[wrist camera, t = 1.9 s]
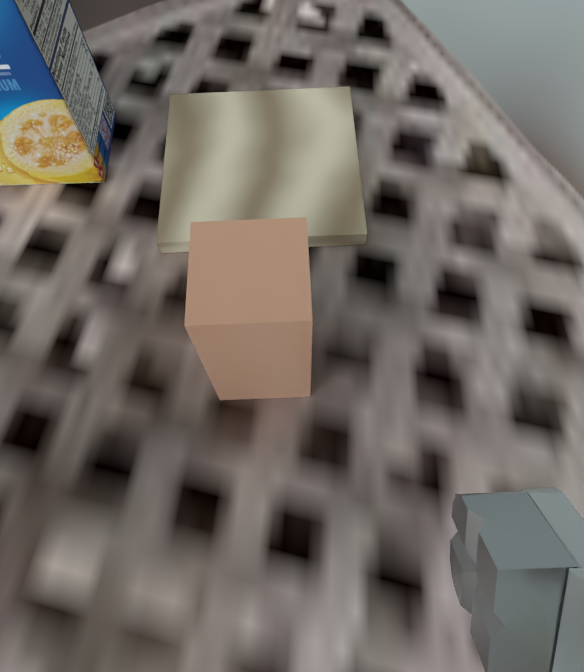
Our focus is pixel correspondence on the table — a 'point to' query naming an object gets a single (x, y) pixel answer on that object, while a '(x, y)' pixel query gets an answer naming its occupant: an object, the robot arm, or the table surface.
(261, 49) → the table surface
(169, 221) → the placemat
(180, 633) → the table surface
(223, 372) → the terracotta block
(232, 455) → the table surface
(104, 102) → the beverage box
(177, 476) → the table surface
